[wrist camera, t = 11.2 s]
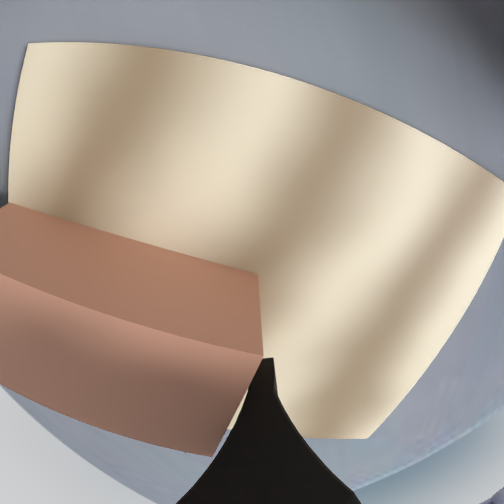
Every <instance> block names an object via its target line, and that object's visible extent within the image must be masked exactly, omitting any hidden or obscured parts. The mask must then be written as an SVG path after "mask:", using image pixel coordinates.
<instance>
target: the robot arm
mask: <svg viewBox="0 0 504 504" xmlns="http://www.w3.org/2000/svg"><path fill="white" fill-rule="evenodd" d="M176 504H361V503H360V501H359V500H358V498H357V497H356V495H355V493H354V492H353V491H352V490H351V489H350V488H348V487H347V486H346V485H345V484H344V483H343V482H342V481H341V480H340V479H338V478H337V477H336V476H335V475H334V474H333V473H332V472H331V471H330V470H329V469H328V468H327V467H326V465H325V464H324V463H323V462H322V461H321V460H320V459H319V457H318V456H317V455H316V454H315V453H314V452H313V450H312V449H311V448H310V447H309V445H308V444H307V443H306V441H305V440H304V439H303V437H302V436H301V434H300V433H299V432H298V430H297V429H296V427H295V426H294V424H293V422H292V421H291V419H290V417H289V416H288V414H287V412H286V411H285V409H284V407H283V405H282V403H281V401H280V399H279V397H278V391H277V382H276V374H275V366H274V358H273V357H272V358H263V359H262V361H261V363H260V365H259V367H258V369H257V371H256V373H255V375H254V377H253V379H252V381H251V383H250V385H249V387H248V392H247V395H246V398H245V400H244V403H243V406H242V408H241V411H240V413H239V415H238V417H237V420H236V422H235V424H234V426H233V428H232V430H231V432H230V434H229V436H228V438H227V439H226V441H225V443H224V445H223V446H222V448H221V449H220V451H219V452H218V454H217V456H216V457H215V459H214V460H213V461H212V463H211V464H210V466H209V467H208V468H207V470H206V471H205V472H204V473H203V475H202V476H201V477H200V478H199V480H198V481H197V482H196V483H195V484H194V486H193V487H192V488H191V489H190V490H189V491H188V492H187V493H186V494H185V495H184V496H183V497H182V498H181V499H180V500H179V501H178V502H177V503H176ZM481 504H504V487H503V488H502V489H500V490H499V491H498V492H496V493H495V494H494V495H493V496H492V497H491V498H489V499H488V500H486V501H484V502H482V503H481Z"/></svg>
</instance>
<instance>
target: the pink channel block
mask: <svg viewBox="0 0 504 504" xmlns="http://www.w3.org/2000/svg"><path fill="white" fill-rule="evenodd" d="M263 356H264V354H263V339H262V325H261V311H260V297H259V283H258V274H255V273H251V272H248V271H244V270H240V269H236V268H233V267H229V266H225V265H222V264H218V263H214V262H211V261H207V260H204V259H200V258H196V257H193V256H189V255H186V254H182V253H179V252H175V251H171V250H168V249H164V248H161V247H157V246H154V245H150V244H147V243H143V242H140V241H136V240H133V239H129V238H126V237H123V236H119V235H116V234H112V233H109V232H105V231H102V230H99V229H95V228H92V227H89V226H85V225H82V224H78V223H75V222H72V221H68V220H65V219H62V218H59V217H55V216H52V215H49V214H45V213H42V212H39V211H36V210H32V209H29V208H26V207H23V206H19V205H16V204H13V203H8V204H7V205H5V206H3V207H1V208H0V384H1V385H3V386H5V387H7V388H9V389H10V390H12V391H14V392H16V393H18V394H20V395H22V396H24V397H26V398H28V399H30V400H32V401H34V402H37V403H39V404H41V405H43V406H45V407H47V408H50V409H52V410H54V411H57V412H59V413H61V414H64V415H66V416H69V417H71V418H74V419H76V420H79V421H81V422H84V423H87V424H89V425H92V426H95V427H98V428H101V429H103V430H106V431H109V432H112V433H116V434H119V435H122V436H125V437H128V438H132V439H135V440H139V441H142V442H146V443H150V444H154V445H158V446H162V447H166V448H170V449H174V450H179V451H183V452H188V453H193V454H198V455H204V456H209V457H212V456H213V454H214V453H215V451H216V449H217V447H218V445H219V443H220V441H221V440H222V438H223V436H224V434H225V432H226V430H227V428H228V426H229V424H230V422H231V420H232V419H233V417H234V415H235V413H236V411H237V409H238V407H239V405H240V403H241V401H242V399H243V397H244V395H245V393H246V391H247V389H248V387H249V385H250V383H251V381H252V379H253V377H254V375H255V373H256V371H257V369H258V367H259V365H260V363H261V361H262V358H263Z"/></svg>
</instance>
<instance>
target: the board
mask: <svg viewBox="0 0 504 504" xmlns="http://www.w3.org/2000/svg"><path fill="white" fill-rule="evenodd" d="M8 203H13V204H16V205H19V206H23V207H26V208H29V209H32V210H36V211H39V212H42V213H45V214H49V215H52V216H55V217H59V218H62V219H65V220H68V221H72V222H75V223H78V224H82V225H85V226H89V227H92V228H95V229H99V230H102V231H105V232H109V233H112V234H116V235H119V236H123V237H126V238H129V239H133V240H136V241H140V242H143V243H147V244H150V245H154V246H157V247H161V248H164V249H168V250H171V251H175V252H179V253H182V254H186V255H189V256H193V257H196V258H200V259H204V260H207V261H211V262H214V263H218V264H222V265H225V266H229V267H233V268H236V269H240V270H244V271H248V272H251V273H255V274H258V283H259V297H260V311H261V325H262V339H263V354H264V356H263V358H272V357H273V358H274V366H275V374H276V382H277V391H278V397H279V399H280V401H281V403H282V405H283V407H284V409H285V411H286V412H287V414H288V416H289V417H290V419H291V421H292V422H293V424H294V426H295V427H296V429H297V430H298V432H299V433H300V434H301V436H302V437H305V438H330V439H367V438H368V437H369V436H370V435H371V434H372V433H373V432H374V431H375V430H376V429H377V428H378V427H379V426H380V425H381V423H382V422H383V421H384V420H385V419H386V418H387V417H388V416H389V415H390V413H391V412H392V411H393V410H394V409H395V408H396V407H397V405H398V404H399V403H400V402H401V401H402V399H403V398H404V397H405V396H406V395H407V393H408V392H409V391H410V390H411V388H412V387H413V386H414V385H415V383H416V382H417V381H418V380H419V378H420V377H421V376H422V374H423V373H424V372H425V370H426V369H427V368H428V366H429V365H430V364H431V362H432V361H433V359H434V358H435V357H436V355H437V354H438V352H439V351H440V350H441V348H442V347H443V345H444V344H445V342H446V341H447V339H448V338H449V336H450V335H451V333H452V332H453V330H454V329H455V327H456V325H457V324H458V322H459V321H460V319H461V317H462V316H463V314H464V313H465V311H466V309H467V308H468V306H469V304H470V302H471V301H472V299H473V297H474V295H475V294H476V292H477V290H478V288H479V286H480V285H481V283H482V281H483V279H484V277H485V275H486V273H487V271H488V269H489V267H490V265H491V263H492V261H493V259H494V257H495V255H496V253H497V251H498V249H499V247H500V245H501V242H502V240H503V238H504V182H503V181H502V180H500V179H499V178H497V177H496V176H494V175H493V174H491V173H490V172H488V171H487V170H485V169H484V168H482V167H481V166H479V165H478V164H476V163H475V162H473V161H471V160H470V159H468V158H466V157H465V156H463V155H462V154H460V153H458V152H457V151H455V150H453V149H451V148H450V147H448V146H446V145H444V144H443V143H441V142H439V141H437V140H435V139H434V138H432V137H430V136H428V135H426V134H424V133H422V132H420V131H419V130H417V129H415V128H413V127H411V126H409V125H407V124H405V123H403V122H400V121H398V120H396V119H394V118H392V117H390V116H388V115H386V114H383V113H381V112H379V111H377V110H374V109H372V108H370V107H368V106H365V105H363V104H360V103H358V102H356V101H353V100H351V99H348V98H346V97H343V96H341V95H338V94H335V93H333V92H330V91H327V90H325V89H322V88H319V87H316V86H313V85H310V84H307V83H304V82H301V81H298V80H295V79H292V78H289V77H286V76H282V75H279V74H276V73H272V72H269V71H265V70H262V69H258V68H254V67H250V66H246V65H242V64H238V63H234V62H230V61H226V60H221V59H216V58H212V57H207V56H201V55H196V54H191V53H185V52H179V51H172V50H166V49H158V48H151V47H142V46H132V45H121V44H107V43H83V42H52V43H29V44H28V47H27V51H26V55H25V59H24V63H23V68H22V72H21V77H20V82H19V87H18V92H17V98H16V104H15V111H14V118H13V126H12V135H11V145H10V158H9V179H8ZM263 358H262V359H263ZM247 392H248V389H247V391H246V393H245V395H244V397H243V399H242V401H241V403H240V405H239V407H238V409H237V411H236V413H235V415H234V417H233V419H232V420H231V422H230V424H229V426H228V428H227V429H229V430H232V428H233V426H234V424H235V422H236V420H237V417H238V415H239V413H240V411H241V408H242V406H243V403H244V400H245V398H246V395H247Z"/></svg>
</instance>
